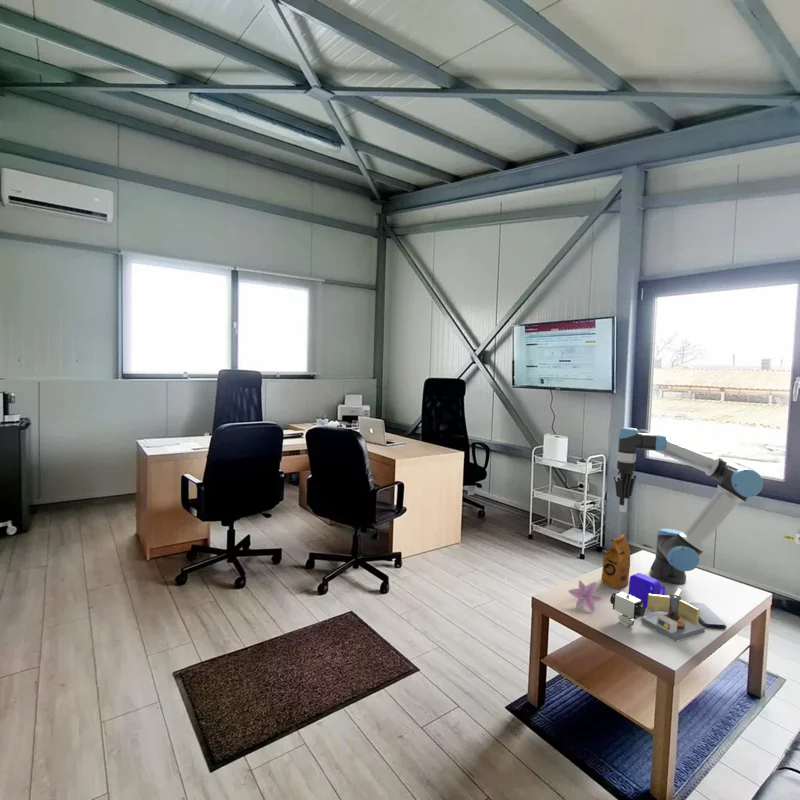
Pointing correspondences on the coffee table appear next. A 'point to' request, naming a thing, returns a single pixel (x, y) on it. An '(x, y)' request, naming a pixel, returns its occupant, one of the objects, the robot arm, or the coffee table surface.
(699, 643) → the coffee table surface
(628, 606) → the pneumatic valve
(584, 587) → the lily
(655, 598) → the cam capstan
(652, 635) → the coffee table surface
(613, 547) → the coffee package
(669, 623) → the level stand
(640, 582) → the bracket
